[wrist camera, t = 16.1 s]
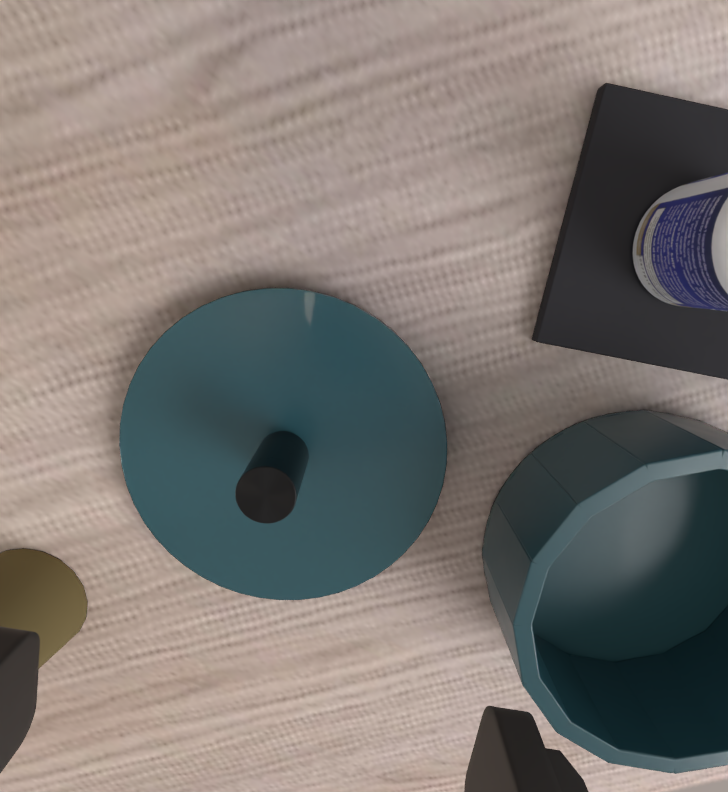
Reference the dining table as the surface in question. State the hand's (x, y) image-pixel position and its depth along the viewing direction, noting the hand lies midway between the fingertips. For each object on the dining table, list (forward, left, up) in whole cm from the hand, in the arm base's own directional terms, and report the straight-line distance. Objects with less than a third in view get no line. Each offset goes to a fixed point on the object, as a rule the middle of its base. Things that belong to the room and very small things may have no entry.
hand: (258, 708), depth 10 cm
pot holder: (-12, +14, -17) cm, 25 cm away
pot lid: (+1, -2, -17) cm, 17 cm away
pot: (+3, +16, -17) cm, 24 cm away
